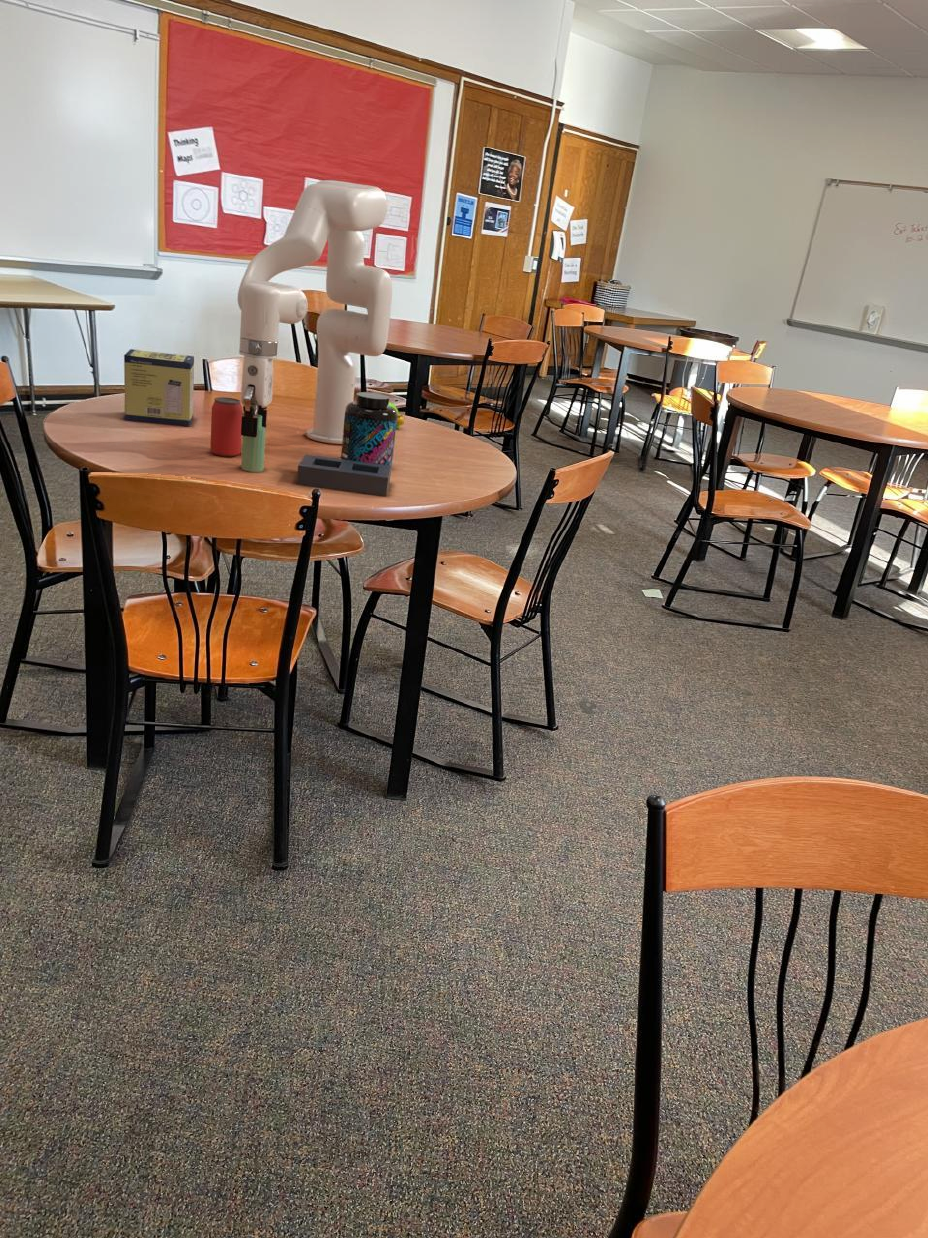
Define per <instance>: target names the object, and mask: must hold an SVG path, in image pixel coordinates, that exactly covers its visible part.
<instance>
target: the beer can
mask: <svg viewBox="0 0 928 1238" xmlns="http://www.w3.org/2000/svg"><path fill="white" fill-rule="evenodd" d="M242 411H243V406H242V402H241V399H237V398H233V397H226V396H221V397H220V396H219V397H218V396H217V397H215V398H214V401H213V403H212V406H211V418H210V420H211V421H210V446H209V447H210V449H209V450H210V452H211V453H212V454H213V455H216V456H219V457H226V458H233V457H237V456H239V455H240V454H242V437H243V436H242V435H241V421H242Z"/></svg>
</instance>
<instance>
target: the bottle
mask: <svg viewBox="0 0 928 1238" xmlns="http://www.w3.org/2000/svg"><path fill="white" fill-rule="evenodd" d="M256 418H258V427H257V437H248V436H242V438H241V461H240V463H241V464H240V468H241V470H243V471H245V472H250V473H260V472H263V471H264V467H265V451H266V432H267V427H266V428H265V427H262V416H261V415H257V417H256Z"/></svg>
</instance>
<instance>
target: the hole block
mask: <svg viewBox="0 0 928 1238" xmlns="http://www.w3.org/2000/svg"><path fill="white" fill-rule="evenodd" d="M391 472H392V465H391V466H387V465H380V464H373V463H366V462H358V461H351V460H344V459H341V458H336V457H330V456H321V455H314V454H307V453H306V454H305V455H304V456H303V458H302V459H301V460H300V462H299V464H298V465H297V477H296V485H298V486H299V485H301V486H307V487H314V488H321V489H329V490H337V491H345V492H352V493H357V494H358V493H359V494H366V495H374V496H382V497H387V495H388V491H389V487H390V482H391Z"/></svg>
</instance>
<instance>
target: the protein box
mask: <svg viewBox="0 0 928 1238" xmlns="http://www.w3.org/2000/svg"><path fill="white" fill-rule="evenodd" d="M123 367H124V368H123V370H124V371H123V372H124V379H123V380H124V381H123V382H124V385H123V386H124V421H128V422H129V421H130V422H137V423H138V422H140V423H148V424H149V423H150V424H159V425H167V426H168V425H170V426H177V427H178V426H179V427H180V426H181V427H190V426H191V425H192V422H193V419H194V391H195V389H194V388H195V387H194V385H195V383H194V382H195V356H193V355H186V354H176V353H169V352H168V353H167V352H159V351H149V350H141V349H140V350H139V349H134V348H131V349H129V350H128V351H127V352H126V353H125V354H124V355H123Z"/></svg>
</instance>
